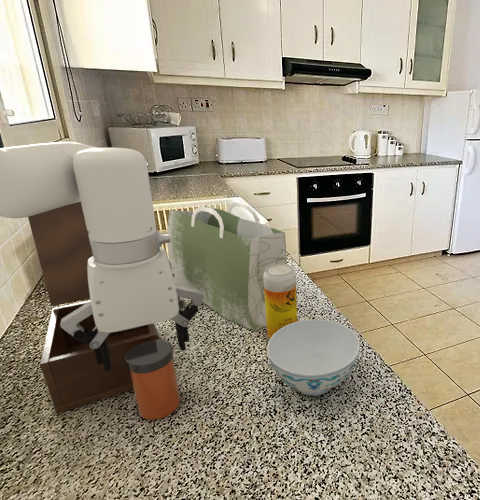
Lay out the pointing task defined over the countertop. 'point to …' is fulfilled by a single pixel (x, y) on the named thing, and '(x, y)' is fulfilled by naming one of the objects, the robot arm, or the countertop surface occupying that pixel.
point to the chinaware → (313, 354)
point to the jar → (153, 378)
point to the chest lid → (63, 252)
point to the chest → (86, 362)
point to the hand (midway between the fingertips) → (146, 355)
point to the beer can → (280, 297)
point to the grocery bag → (225, 260)
